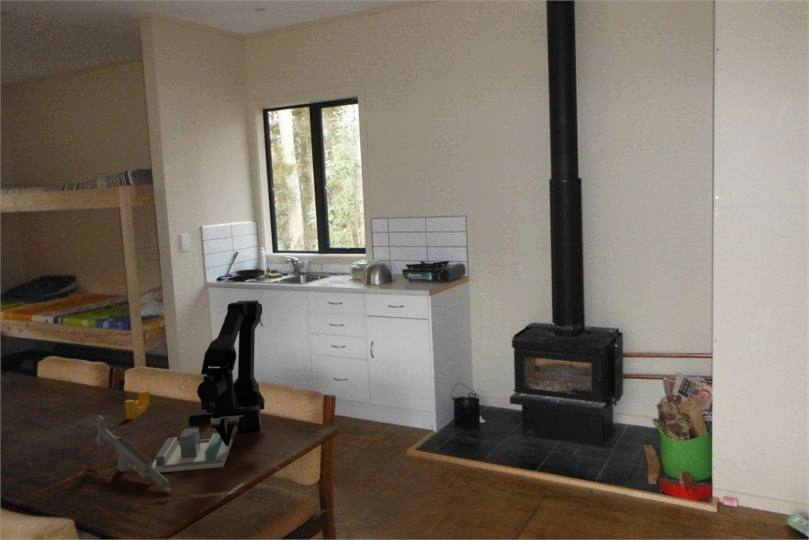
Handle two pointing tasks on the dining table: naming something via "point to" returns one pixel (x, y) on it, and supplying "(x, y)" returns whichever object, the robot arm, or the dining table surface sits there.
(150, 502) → the dining table surface
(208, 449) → the vise free jaw
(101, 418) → the gun
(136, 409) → the pipe clamp
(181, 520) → the dining table surface
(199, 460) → the vise bed
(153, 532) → the dining table surface
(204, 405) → the walkie-talkie
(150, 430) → the dining table surface
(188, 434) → the steel block
